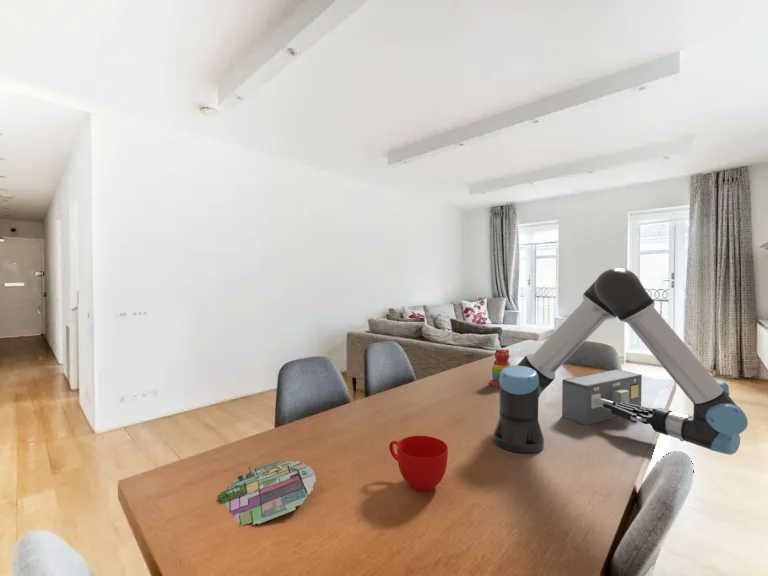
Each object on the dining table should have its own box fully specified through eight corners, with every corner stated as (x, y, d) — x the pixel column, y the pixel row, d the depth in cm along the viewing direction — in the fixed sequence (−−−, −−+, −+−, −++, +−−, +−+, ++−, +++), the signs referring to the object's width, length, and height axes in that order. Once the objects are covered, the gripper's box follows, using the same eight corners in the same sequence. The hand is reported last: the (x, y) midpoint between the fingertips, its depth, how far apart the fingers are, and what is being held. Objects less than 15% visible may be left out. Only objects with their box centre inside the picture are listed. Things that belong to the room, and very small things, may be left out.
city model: (199, 502, 93) (196, 479, 92) (284, 458, 109) (281, 438, 109) (244, 557, 75) (241, 529, 75) (337, 495, 92) (335, 472, 91)
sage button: (629, 404, 141) (629, 390, 140) (621, 406, 138) (621, 392, 138) (613, 399, 146) (613, 386, 146) (605, 401, 144) (605, 388, 143)
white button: (600, 406, 138) (600, 393, 138) (591, 408, 136) (592, 395, 135) (585, 401, 143) (585, 388, 143) (576, 404, 141) (576, 390, 141)
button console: (641, 409, 150) (642, 374, 150) (587, 425, 135) (588, 386, 134) (615, 402, 159) (616, 369, 159) (562, 416, 144) (562, 379, 143)
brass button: (638, 396, 149) (638, 384, 149) (630, 398, 147) (630, 386, 147) (622, 392, 154) (622, 380, 154) (615, 394, 152) (615, 382, 152)
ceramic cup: (404, 462, 108) (404, 427, 108) (457, 482, 97) (457, 444, 97) (374, 481, 98) (374, 443, 98) (430, 506, 87) (430, 463, 87)
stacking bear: (510, 382, 189) (510, 347, 189) (515, 388, 179) (515, 351, 179) (488, 382, 190) (488, 347, 190) (492, 388, 180) (492, 351, 180)
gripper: (659, 439, 113) (585, 414, 134) (681, 431, 119) (607, 408, 140) (659, 415, 112) (585, 393, 133) (682, 408, 118) (608, 388, 139)
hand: (597, 401), depth 136 cm, fingers closed
